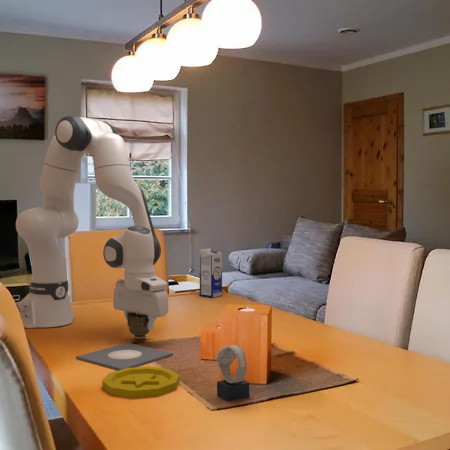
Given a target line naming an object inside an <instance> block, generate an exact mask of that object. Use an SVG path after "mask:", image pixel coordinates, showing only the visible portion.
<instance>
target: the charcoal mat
mask: <svg viewBox="0 0 450 450" xmlns="http://www.w3.org/2000/svg"><path fill="white" fill-rule="evenodd" d="M168 356H169V357H172V356H174V354H173V352H169V351H164V350H161V349H157V348H152V347H148V346H145V345H139V344H135V343H130V342H125V343H121V344H117V345H114V346H110V347H106V348H101V349H99V350H95V351H91V352H87V353H84V354H83V353H82V354H80V355H76V356H75V359H76V360H80V361H84V362H87V363H90V364H94V365H97V364H98V366H101V367H105V368H108V369H113V370H114V371H118V370H122V369H125V368H134V367H142V366H144V365H147V364H150V363H153V361H154V362H156V360H157V361H159V359H160V360H163V359H165V358H169V357H168ZM162 358H163V359H162Z"/></svg>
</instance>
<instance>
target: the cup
mask: <svg viewBox="0 0 450 450" xmlns="http://www.w3.org/2000/svg"><path fill="white" fill-rule="evenodd" d="M127 319H128V326H127V327H128V330H129V332H130V334H131V335H133V340H134V341H136V342H143V341H145V340H147V336H146V335H147V334H149V333H150V331H151V330H146V324H148V322H149V319H148V315H143V314H138V313H130V312H129V315H127Z"/></svg>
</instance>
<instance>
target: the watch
mask: <svg viewBox="0 0 450 450" xmlns="http://www.w3.org/2000/svg"><path fill="white" fill-rule="evenodd" d="M215 359H216V361H217V365H218V367H219V370H220V373H221V376H222V377H223V379H224V380H223V379H222V380H218V381H217V380H216V384H217V385H216V396H217V397H219V398H220V399H222V400H224V401H226V402H232V401H236V400H240V399H246V398H249V397H250V382H249V381H246V380H245V377H246V376H247V375H246V374H247V372H248V371H247V370H248V367H247V366H248V365H247V364H248V361H247V357H246V353H245V351H244V349H243V348H242V347H241V346H240V345H237V344H234V345H233V344H228V345H224V346H223V347H222V348H220V349H219V350H218V352H217V353H216V355H215ZM236 359H237V368H236V370H235V374H234V376H233V373H232V370H231V366H232V365H233V363H234V361H235V360H236Z"/></svg>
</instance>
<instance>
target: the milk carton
mask: <svg viewBox="0 0 450 450" xmlns="http://www.w3.org/2000/svg"><path fill="white" fill-rule="evenodd" d="M200 296H202V297H201V298H206V297H207V299H215V298H219V297H222V296H223V253H222V252H220V251H219V250H218V249H215V248H210V247H207V248H202V249H199V297H200Z"/></svg>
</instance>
